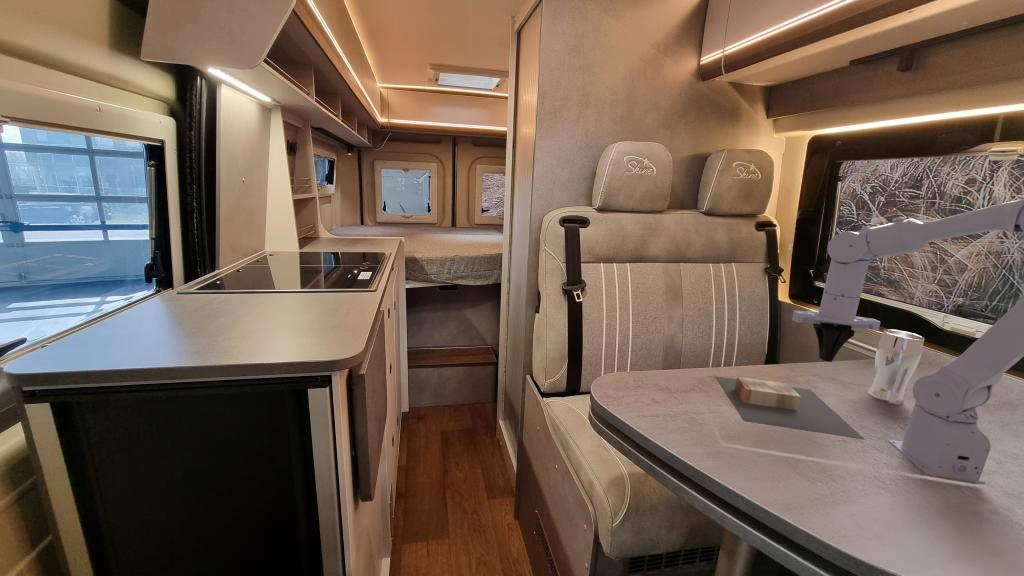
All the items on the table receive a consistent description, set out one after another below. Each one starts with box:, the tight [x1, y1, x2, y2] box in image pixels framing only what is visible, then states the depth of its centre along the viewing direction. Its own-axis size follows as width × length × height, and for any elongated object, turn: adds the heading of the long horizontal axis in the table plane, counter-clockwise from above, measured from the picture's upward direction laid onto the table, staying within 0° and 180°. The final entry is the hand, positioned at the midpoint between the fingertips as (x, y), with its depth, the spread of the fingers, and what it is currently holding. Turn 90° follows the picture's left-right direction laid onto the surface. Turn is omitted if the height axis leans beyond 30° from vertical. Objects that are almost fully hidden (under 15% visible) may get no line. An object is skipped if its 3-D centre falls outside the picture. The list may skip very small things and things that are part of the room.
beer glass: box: [867, 328, 925, 406], centre depth 91 cm, size 7×7×15 cm
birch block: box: [734, 376, 801, 410], centre depth 87 cm, size 6×3×10 cm
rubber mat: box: [715, 376, 865, 440], centre depth 86 cm, size 20×20×1 cm
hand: (825, 359), depth 84 cm, fingers closed
